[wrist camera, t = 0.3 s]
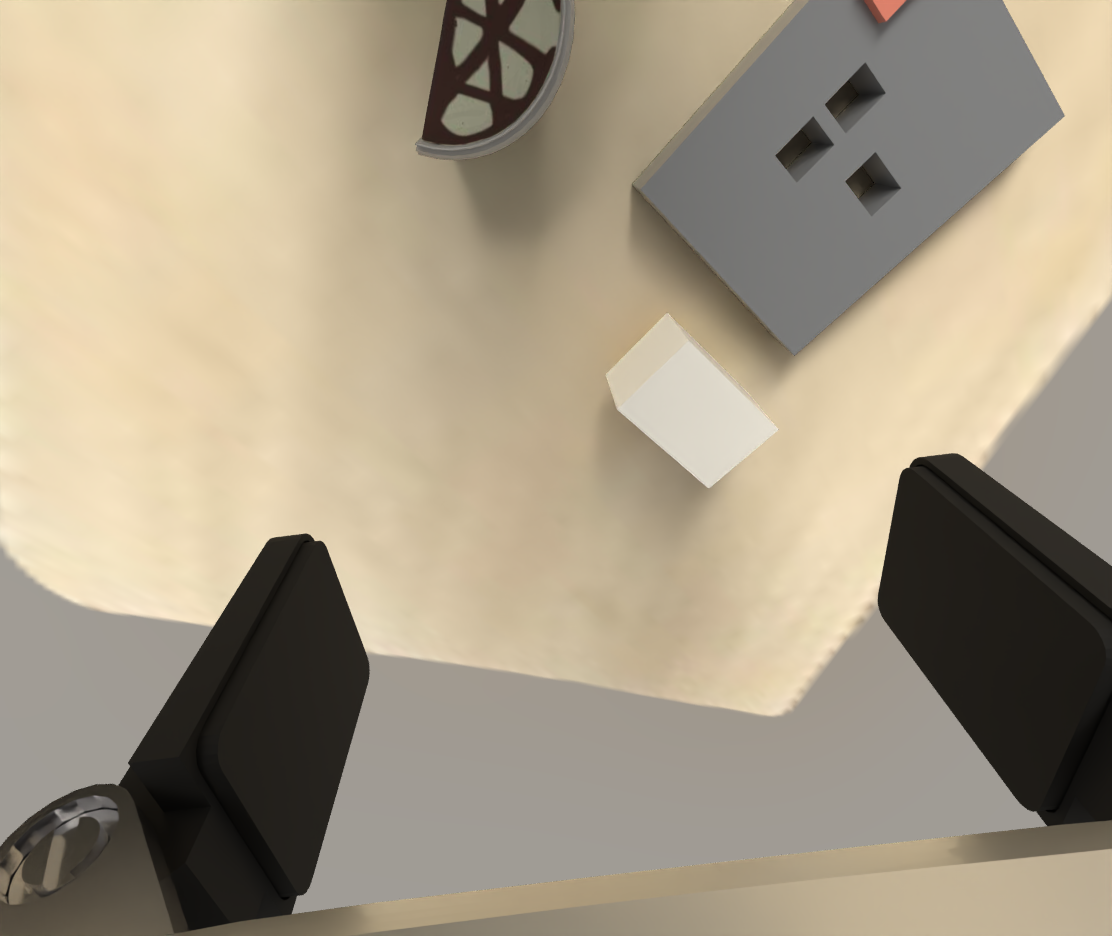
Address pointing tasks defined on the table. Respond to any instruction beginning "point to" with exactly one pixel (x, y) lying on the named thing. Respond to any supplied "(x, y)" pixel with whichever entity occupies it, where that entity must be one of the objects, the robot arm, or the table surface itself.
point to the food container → (494, 74)
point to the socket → (847, 149)
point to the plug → (687, 402)
